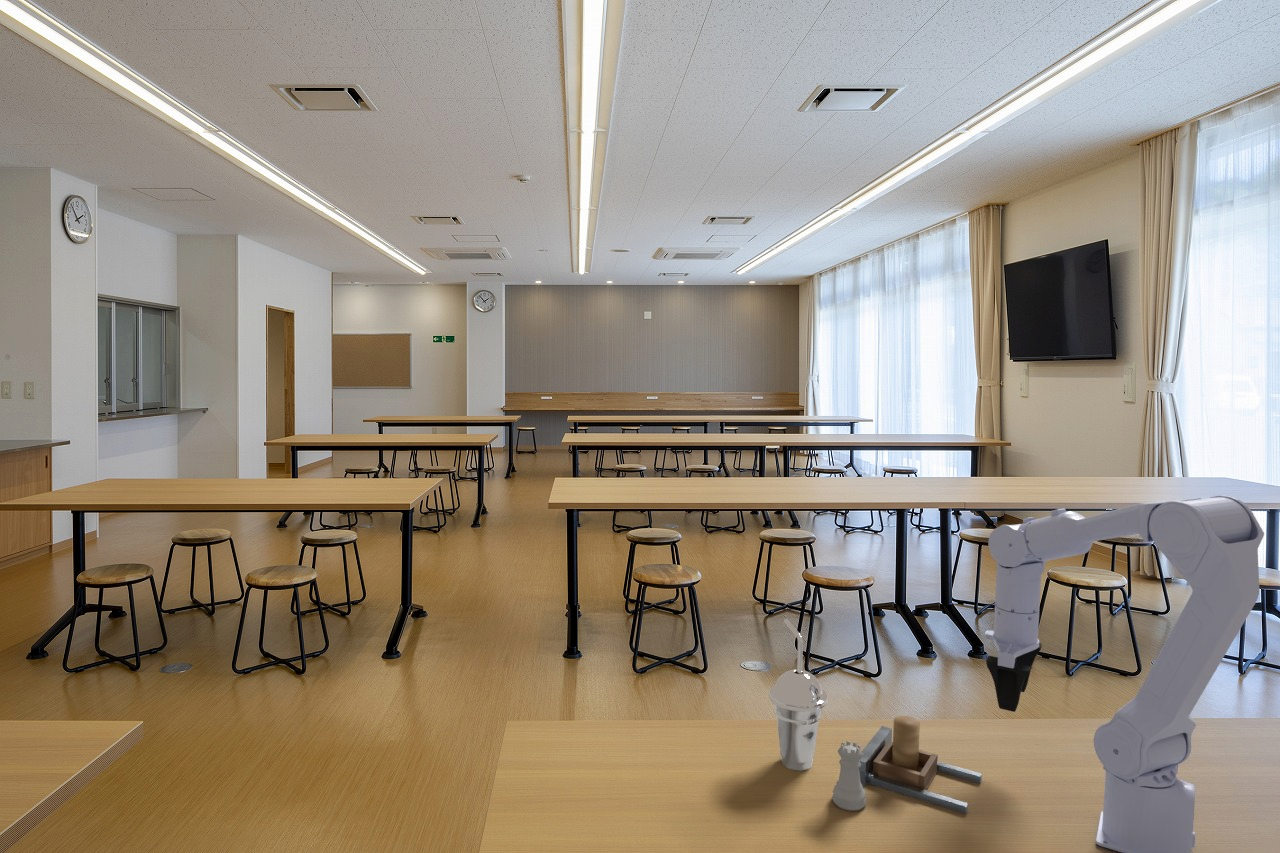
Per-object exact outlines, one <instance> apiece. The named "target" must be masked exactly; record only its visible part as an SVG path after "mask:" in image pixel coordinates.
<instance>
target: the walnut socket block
mask: <svg viewBox="0 0 1280 853" xmlns="http://www.w3.org/2000/svg"><path fill="white" fill-rule="evenodd" d="M892 755H893V741H892V742H890V741H888V743H887V744H886V745H885V747H884V748H883V749H882V751H881V752H880V753H879V755H878V756H877V757H876V759H875V760H874V761H873V774H874V775H877V776H881V777H884V778H887V779H890V780H894V781H897V782H900V783H903V784H907V785H910V786H913V787H916V788H920V789H923V790H926V791H928V788H929V786H930V785H931V784H932V782H933V780H934V778H935V777H936V775H937V773H938V771H937V761H938V757H939V756H938V755H939V754H936V753H933V752H928V751H925V750H921V749H919V760H918V772H917V771H913V770H910V769H907V768H903V767H900V766H896V765H893V764H892Z"/></svg>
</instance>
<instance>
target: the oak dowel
mask: <svg viewBox="0 0 1280 853" xmlns="http://www.w3.org/2000/svg"><path fill="white" fill-rule="evenodd" d="M892 726H893V728H892V742H893V755H892V764H893V765H896V766H900V767H903V768H907V769H910V770H913V771H917V772H918V760H919V750H920V729H921V728H920V726H921V723H920V721H919V720H918V719H917V718H914V717H912V716H907V715H898V716H895V717H894V718H893V725H892Z"/></svg>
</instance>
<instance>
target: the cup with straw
mask: <svg viewBox="0 0 1280 853" xmlns="http://www.w3.org/2000/svg"><path fill="white" fill-rule="evenodd" d="M783 623H784V624H785V625H786V626H787V627H788V629H789V631H791V632H792V633H793V635H794V636H795V637H796V639H797V661H796V662H797V666H796V667H797V668H795V669H793V668H792V669H790V670H787V671H785V672H783V673H782V674H781V675H780V676H779V677H778V678H777V680H776V682H775V684H774V685H773V686H771V687H770V689H769V692H768V693H769V694H768V699H769V701H770V702H771V703H772V704H773V705H774V707H773V708H774V711H775V716H776V721H777V722H776V723H777V732H778V742H779V743H778V744H779V750H780V752H779V753H780V756H781V760H780V763H781V764H782V765H783V766H784V767H785V768H787V769H789V770H793V771H807V770H810V769H811V768H812V767H813V759H814V758H815V751H816V750H815V749H816V745H817V744H816V743H817V736H818V729H819V723H820V722H819V721H820V720H821V715H822V713H823V709H824V708H825V707H826V706H827V705H828V704H829V699H828V694H827V692H826V691H825V690H824V689H823V688H822V685H821V683H820V682H819V679H818V678H816V676H815V675H814V674H813V673H811V672H809V671H807V670H804V669H803V653H804V652H803V650H804V649H803V647H804V646H803V645H804V640H803V636H802V634H801V633H800V632H799V631H798V630H797V628H796V627H795V626H794V625H793V624H792V622H791V621H790V620H789V619H788V618H784V619H783Z"/></svg>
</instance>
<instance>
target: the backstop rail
mask: <svg viewBox="0 0 1280 853" xmlns="http://www.w3.org/2000/svg"><path fill="white" fill-rule="evenodd" d="M888 741H890V742H893V728H892V727H889V726H888V727H887V726H885V725H884V726H883V725H881V726H880V728H879V729H878V730H877V731H876V733H875V734H874V735H873V736H872V738H871V739H870V740H869V742H867V744H866V745H865V747H864V748H863V749H862V750H861V751H862V753H863V756H862V757H861V759H860V760H859V762H860V763H861V767H860V768H859V773H860V782H861V784H862V786H863V788H865V787H866V786H867V785H872V786H876V787H878V788H881V789H884V790H887V791H891V792H894V793H897V794H900V795H903V796H904V795H905V796H908V797H910V798H913V799H916V800H920V801H924V802H926V803H929V804H933V805H935V806H939V807H942V808H945V809H947V810H951V811H955V812H958V813H961V814H965V815H967V813H968V811H969V803H968V802H965V801H962V800H958V799H955V798H953V797H949V796H945V795H942V794H938V793H935V792H933V791H929V790H923V789H920V788H916V787H913V786H910V785H907V784H903V783H900V782H897V781H894V780H890V779H887V778H884V777H881V776H877V775H874V774H873V761H874V760H875V759H876V757H877V756H878V755H879V753H880V752H881V751H882V749H883V748H884V747H885V745H886V744H887V743H888ZM938 772H939V773H941V774H946V775H949V776H952V777H955V778H960V779H961V780H967V781H970V782H973V783H977V784H979V785H980V784H982V781H983V774H982V773H981V772H978V771H973V770H970V769H967V768H963V767H960V766H956V765H953V764H950V763H949V764H948V763H945V762H941V761H939V760H937V773H938Z"/></svg>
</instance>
